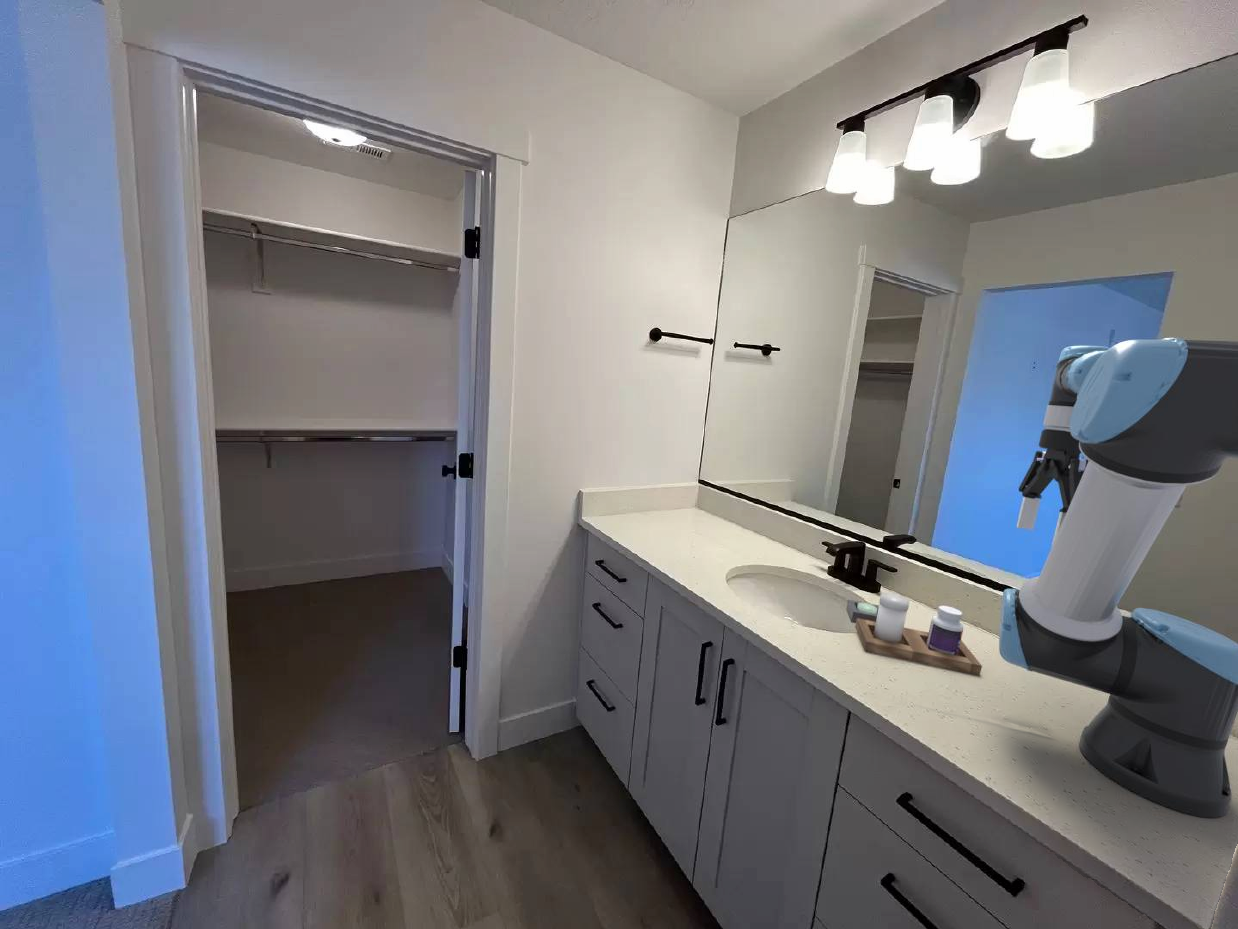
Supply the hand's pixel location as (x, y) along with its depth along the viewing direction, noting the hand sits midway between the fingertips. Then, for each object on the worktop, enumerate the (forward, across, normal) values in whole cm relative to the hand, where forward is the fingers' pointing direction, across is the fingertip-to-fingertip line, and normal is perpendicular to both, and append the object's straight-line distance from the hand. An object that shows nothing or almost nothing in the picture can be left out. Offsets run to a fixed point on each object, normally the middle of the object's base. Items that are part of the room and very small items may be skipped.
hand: (1041, 537), depth 99 cm
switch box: (+27, +5, +27) cm, 38 cm away
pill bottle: (+26, -6, +15) cm, 31 cm away
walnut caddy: (+27, -6, +20) cm, 34 cm away
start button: (+26, +5, +27) cm, 38 cm away
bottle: (+26, -6, +25) cm, 36 cm away
